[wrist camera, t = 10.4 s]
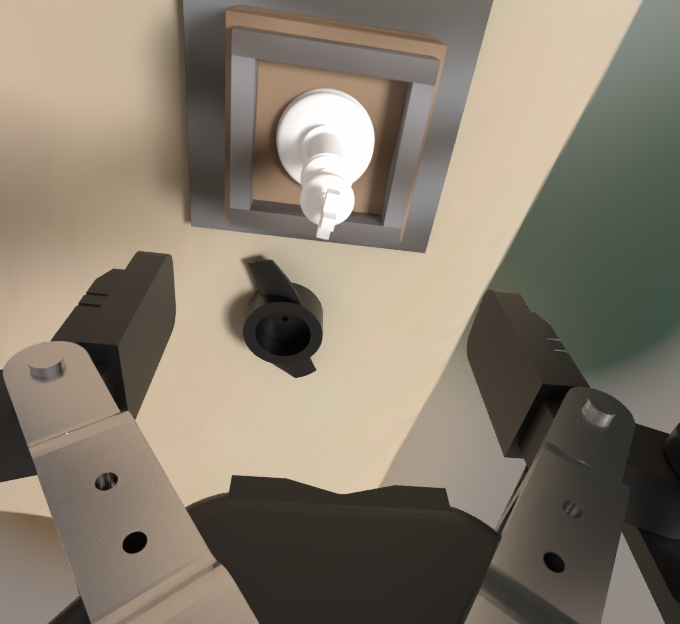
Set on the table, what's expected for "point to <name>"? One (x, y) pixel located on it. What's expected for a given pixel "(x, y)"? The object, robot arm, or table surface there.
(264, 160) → the pedestal
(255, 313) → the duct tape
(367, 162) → the chess piece
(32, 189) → the table surface
